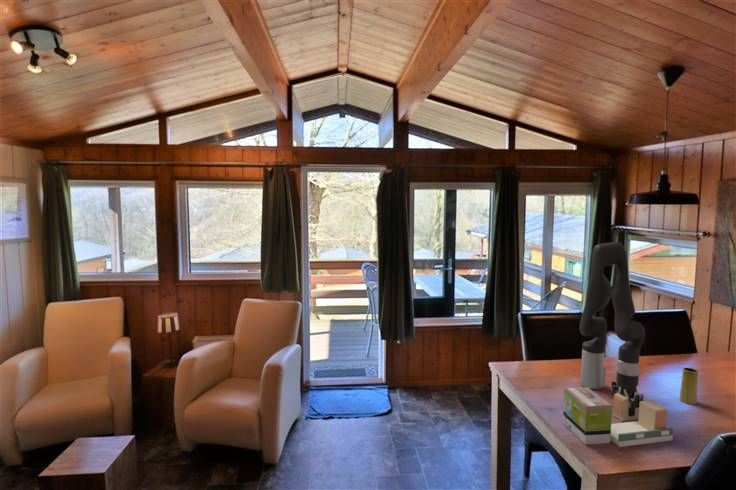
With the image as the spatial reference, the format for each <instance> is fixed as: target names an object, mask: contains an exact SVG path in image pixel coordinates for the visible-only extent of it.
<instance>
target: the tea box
mask: <svg viewBox="0 0 736 490" xmlns="http://www.w3.org/2000/svg"><path fill="white" fill-rule="evenodd" d="M612 417H613V405H612V404H611V403H610V402H608V401H607V400H606V399H604V397H601V396H600V395H599V394H597V393H596V392H594V391H593V389H589V388H588V387H584V386H582V387H570V388H567V387H566V388H564V389H563V415H562V423H563V425H565V426H566V427H567V428H568V429H569V430H570V431H571V432H572V433H573V434H574V435H575V436H576V437H577V438H578V439H579V441H580V442H582V443H583V444H584V445H601V444H610V443H611V440H610V437H611V424H612Z"/></svg>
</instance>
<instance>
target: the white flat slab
mask: <svg viewBox="0 0 736 490" xmlns="http://www.w3.org/2000/svg"><path fill="white" fill-rule="evenodd" d="M673 438H674V428H673V427H666V428H664V429H656V430H647V429H645V428H644V427H642V426H640V425H639V424H638V420H636V421H635V420H633V421H624V422H618V423H611V437H610V442H613V444H615V445H616V446H618V447H619V448H622V447H629V446H637V445H645V444H653V443H654V444H655V443H664V442H670V441H673Z"/></svg>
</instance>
